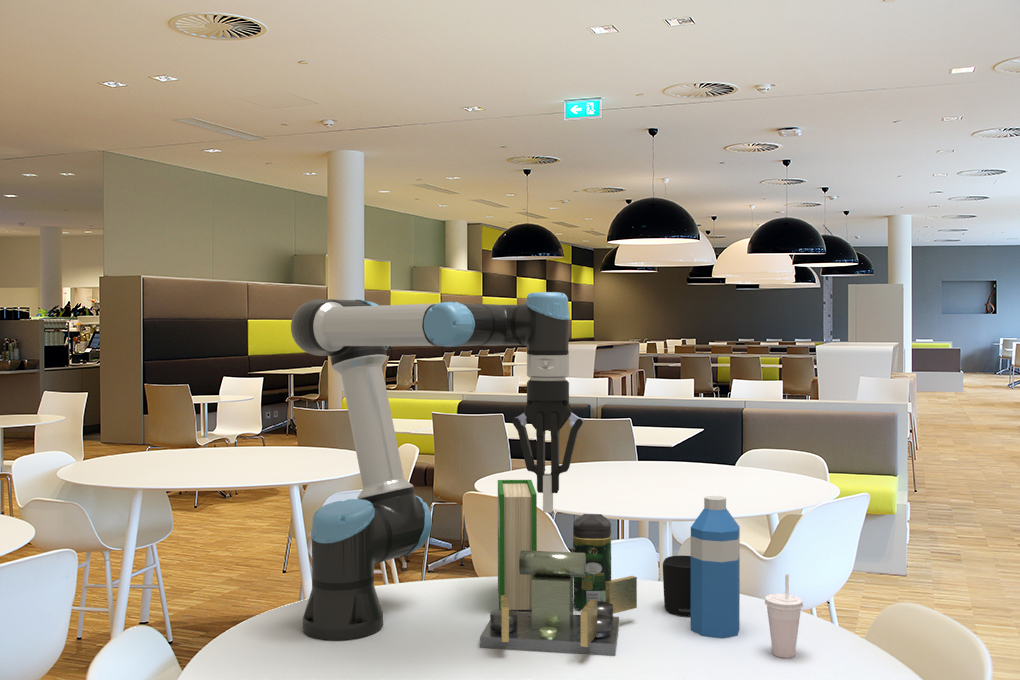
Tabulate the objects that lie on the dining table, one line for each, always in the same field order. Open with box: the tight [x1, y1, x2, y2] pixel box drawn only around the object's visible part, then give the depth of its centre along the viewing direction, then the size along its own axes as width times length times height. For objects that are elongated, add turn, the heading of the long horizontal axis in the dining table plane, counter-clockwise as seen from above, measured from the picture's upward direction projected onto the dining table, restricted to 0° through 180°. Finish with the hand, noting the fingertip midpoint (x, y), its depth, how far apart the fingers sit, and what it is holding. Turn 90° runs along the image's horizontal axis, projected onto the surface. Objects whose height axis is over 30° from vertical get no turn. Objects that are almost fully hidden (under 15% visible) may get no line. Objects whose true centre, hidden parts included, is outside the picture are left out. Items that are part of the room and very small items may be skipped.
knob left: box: [489, 595, 518, 642], centre depth 157 cm, size 12×5×6 cm, turn 2°
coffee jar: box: [572, 513, 612, 611], centre depth 180 cm, size 10×8×19 cm
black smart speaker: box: [662, 555, 691, 618], centre depth 177 cm, size 9×9×10 cm
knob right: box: [580, 599, 611, 647], centre depth 154 cm, size 12×5×6 cm, turn 160°
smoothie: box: [764, 573, 804, 659], centre depth 153 cm, size 6×6×14 cm
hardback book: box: [497, 479, 538, 611], centre depth 184 cm, size 18×7×24 cm, turn 2°
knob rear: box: [597, 575, 638, 621], centre depth 167 cm, size 12×5×6 cm, turn 126°
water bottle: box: [690, 495, 741, 639], centre depth 166 cm, size 9×9×25 cm
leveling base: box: [479, 550, 620, 656], centre depth 162 cm, size 24×15×15 cm, turn 80°
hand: (548, 511), depth 156 cm, fingers closed
